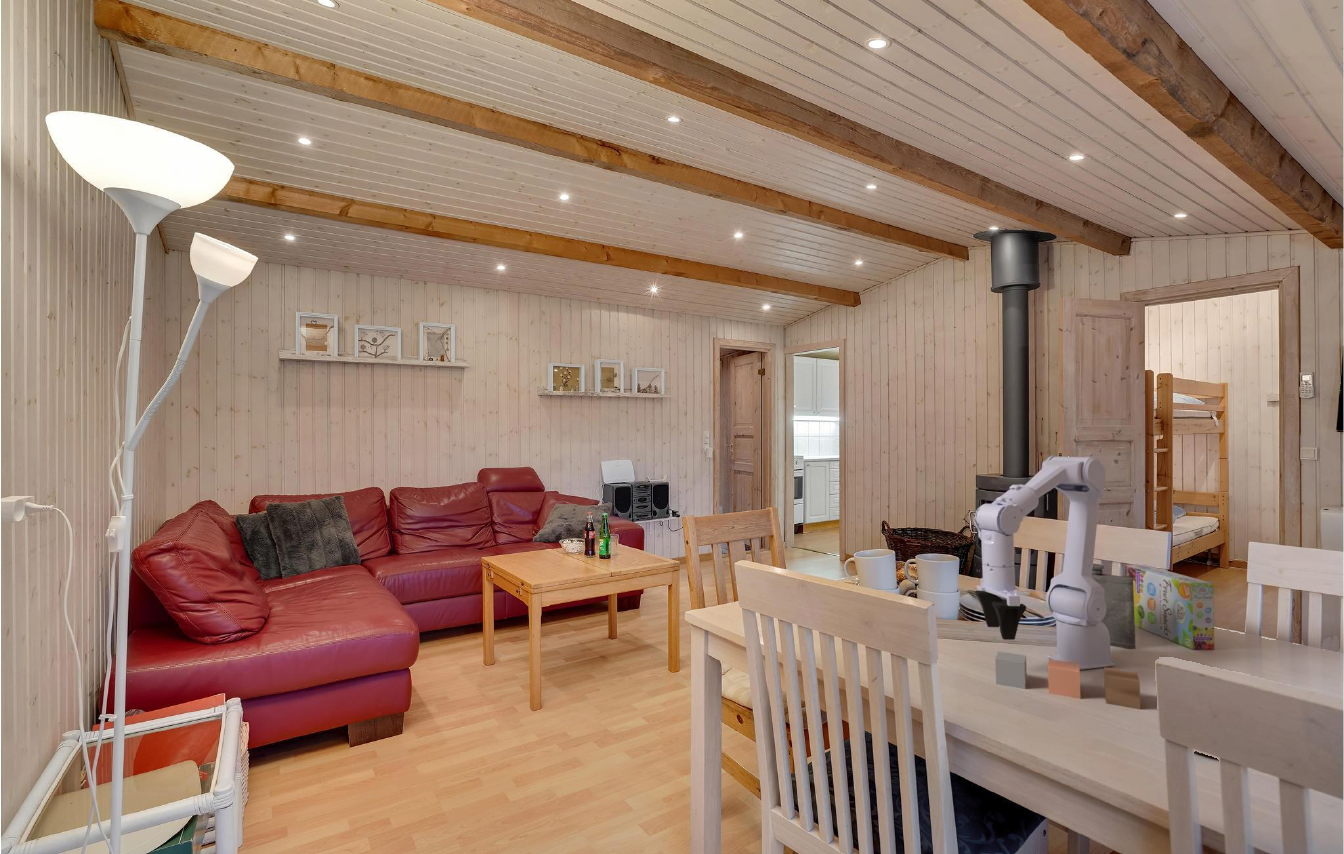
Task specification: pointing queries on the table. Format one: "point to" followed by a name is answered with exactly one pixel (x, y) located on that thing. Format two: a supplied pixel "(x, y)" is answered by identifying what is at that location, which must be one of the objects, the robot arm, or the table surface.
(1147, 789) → the table surface
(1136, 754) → the table surface
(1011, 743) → the table surface
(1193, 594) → the snack box
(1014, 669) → the slate block
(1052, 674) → the terracotta block
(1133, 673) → the walnut block
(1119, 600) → the dark grey slab
